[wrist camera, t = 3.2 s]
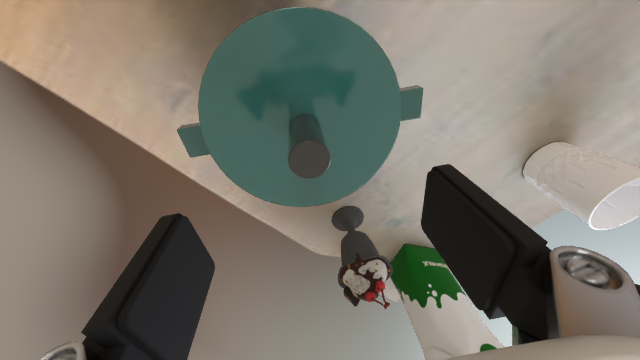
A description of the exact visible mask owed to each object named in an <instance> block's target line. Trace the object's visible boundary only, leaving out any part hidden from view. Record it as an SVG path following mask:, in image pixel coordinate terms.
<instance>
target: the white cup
mask: <svg viewBox="0 0 640 360" xmlns="http://www.w3.org/2000/svg"><path fill="white" fill-rule="evenodd" d="M523 175H524V179H525V180H527V181H528V182H530V183H531V184H533V185H534V186H536V187H537V188H538V189H540V190H541V192H542V193H544V194H545V195H546V196H548V197H549V198H550V199H552V200H553V201H555V202H556V203H557V204H559V205H560V206H562V207H563V208H565V209H566V210H567V211H569V212H570V213H572V214H573V215H575V216H576V217H578V218H579V219H580V220H582V221H583V222H584V223H586V224H587V225H589V226H590V227H592V228H593V229H596V230H607V229H612V228H615V227H618V226H621V225H624V224H626V223H628V222H630V221H632V220H634V219H636V218H637V217H639V216H640V167H638V166H635V165H632V164H629V163H627V162H624V161H621V160H618V159H615V158H612V157H609V156H606V155H602V154H599V153H597V152H594V151H591V150H586V149H582V148H579V147H577V146H574V145H571V144H568V143H565V142H553V143H551V144H548V145H546V146H543V147H542V148H540V149H539V150H538V151H536V152H535V153H534V154H532V156H531V157H530V158H529V159H528V161H527V162H526V163H525V166H524V169H523Z"/></svg>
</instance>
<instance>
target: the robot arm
mask: <svg viewBox="0 0 640 360" xmlns="http://www.w3.org/2000/svg"><path fill="white" fill-rule="evenodd" d="M421 226H422V229H423V231H424V233H425V234H426V236H427V237H428V238H429V240H430V241H431V243H432V244H433V246H434V247H435V249H436V250H437V251H438V253H439V254H440V256H441V257H442V259H443V260H444V262H445V263H446V265H447V266H448V267H449V269H450V270H451V272H452V273H453V275H454V276H455V278H456V279H457V280H458V282H459V283H460V285H461V286H462V288H463V289H464V291H465V292H466V293H467V295H468V296H469V298H470V299H471V301H472V302H473V304H474V305H475V306H476V307H477V308H478V309H479V310H483V311H484V313H485V314H486V315H487V317H488V318H489V319H495V318H500V317H505V316H506V317H507V319H508V320H509V321H510V323H511V324H512V346H510V347H504V348H499V349H493V350H487V351H482V352H477V353H472V354H467V355H462V356H457V357H452V358H447V359H442V360H640V285H637V284H634V282H633V280H632V279H631V277H630V276H629V274H628V273H627V272H626V271H625V270H624V269H623V268H622V267H621V266H619V265H618V264H617V263H615V262H613V261H612V260H610V259H609V258H607V257H605V256H602V255H601V254H599V253H596V252H594V251H591V250H588V249H584V248H580V247H574V246H561V247H557V248H554V249H553V250H550V249H549V248H548V247H546V244H547V241H546V240H544V239H543V238H542V237H541V236H539V235H538V234H537V233H536V232H534V231H533V230H532V229H531V228H529V227H528V226H527V225H526V224H524V223H523V222H522V221H521V220H519V219H518V218H517V217H516V216H514V215H513V214H512V213H511V212H509V211H508V210H507V209H506V208H504V207H503V206H502V205H501V204H499V203H498V202H497V201H496V200H494V199H493V198H492V197H491V196H489V195H488V194H487V193H486V192H484V191H483V190H482V189H481V188H479V187H478V186H477V185H476V184H474V183H473V182H472V181H471V180H469V179H468V178H467V177H465V176H464V175H463V174H462V173H460V172H459V171H458V170H457V169H455V168H454V167H453V166H452V165H450V164H446V165H441V166H435V167H433V168H432V169H431V171H429V172H428V174H427V181H426V188H425V196H424V204H423V211H422V219H421ZM214 270H215V265H214V261H213V259H212V258H211V256H210V254H209V253H208V251H207V249H206V248H205V246H204V245H203V243H202V241H201V239H200V238H199V236H198V234H197V233H196V231H195V229H194V227H193V226H192V224H191V222H190V221H189V219H188V218H187V217H185V216H183V215H181V214H173V215H167V216H163V217H161V218H160V219H159V221H158V222H157V224H156V225H155V226H154V228H153V229H152V231H151V232H150V234H149V235H148V236H147V238H146V239H145V241H144V242H143V244H142V245H141V247H140V248H139V250H138V251H137V252H136V254H135V255H134V257H133V258H132V260H131V261H130V263H129V264H128V265H127V267H126V268H125V270H124V271H123V273H122V274H121V275H120V277H119V278H118V280H117V281H116V283H115V284H114V286H113V287H112V289H111V290H110V291H109V293H108V294H107V296H106V297H105V299H104V300H103V301H102V303H101V304H100V306H99V307H98V309H97V310H96V312H95V313H94V314H93V316H92V317H91V319H90V320H89V322H88V323H87V325H86V326H85V328H84V329H83V330H82V332H81V333H83V334H84V335H85V336H87V337H86V338H85V340H84V341H83V343H80V342H77V341H74V342H67V343H64V344H62V345H59V346H57V347H55V348H54V349H52V350H50V351H49V352H47V353H45V354H44V355H43V356H42V357H40V358H39V359H37V360H187V358H188V355H189V351H190V348H191V345H192V342H193V338H194V335H195V332H196V329H197V326H198V322H199V319H200V316H201V313H202V309H203V306H204V303H205V299H206V296H207V293H208V290H209V287H210V283H211V280H212V277H213V274H214Z"/></svg>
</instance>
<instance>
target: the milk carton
mask: <svg viewBox="0 0 640 360" xmlns="http://www.w3.org/2000/svg"><path fill="white" fill-rule="evenodd" d="M391 265H392V268H393V273H392V275H391V276H390V277H391V279H392V281H393V283H394V285H395V287H396V288H397V290H398V292H399V294H400V297H401V299H402V301H403V304H404V306H405V309H406V311H407V313H408V315H409V318H410V320H411V323H412V325H413V327H414V330H415V332H416V335H417V337H418V339H419V342H420V344H421V346H422V349H423V352H424V355H425V359H426V360H442V359H447V358H452V357H457V356H462V355H467V354H472V353H477V352H482V351H487V350H493V349H499V348H504V346H503V345H502V344H501V343H500V341H499V340H498V339H497V338H496V337H495V336H494V335H493V334H492V332H491V331H490V330H489V329H488V327H487V326H486V324H485V323H484V322H483V320H482V319H481V317H480V316H479V315H478V313H477V311H476V310H475V308H474V307H473V305H472V304H471V302H470V301H469V299H468V298H467V297H466V295H465V293H464V292H463V290H462V289H461V287H460V286H459V285H458V283H457V281H456V280H455V278H454V277H453V275H452V274H451V272H450V271H449V269H448V267H447V266H446V264H445V262H444V261H443V259H442V257H441V256H440V254H439V253H438V251H437V250H436V249H432V248H426V247H420V246H415V245H409V244H404V246H403V247H402V249H401V250H400V251H399V253H398V254H397V256H396V257H395V258H394V260H393V261H392V263H391Z"/></svg>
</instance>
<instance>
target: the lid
mask: <svg viewBox="0 0 640 360" xmlns="http://www.w3.org/2000/svg"><path fill="white" fill-rule="evenodd" d="M198 110H199V121H200V126H201V131H202V135H203V137H204V140H205V143H206V146H207V148H208V150H209V152H210V154H211V155H212V157H213V159H214V160H215V162H216V163H217V165H218V166H219V168H220V169H221V170H222V171H223V172H224V173H225V174H226V176H227V177H228V178H230V179H231V180H232V181H233V182H234V183H235V184H236V185H238V186H239V187H240V188H242V189H243V190H245V191H246V192H248V193H250V194H252V195H253V196H255V197H258V198H260V199H262V200H265V201H268V202H271V203H274V204H279V205H284V206H293V207H309V206H317V205H322V204H326V203H330V202H333V201H336V200H339V199H341V198H343V197H345V196H347V195H349V194H351V193H353V192H354V191H356V190H357V189H359V188H360V187H361V186H363V185H364V184H365V183H367V182H368V181H369V180H370V179H371V178H372V177H373V176H374V175H375V174H376V173H377V171H378V170H379V169H380V168H381V167H382V165H383V164H384V162H385V161H386V159H387V158H388V156H389V154H390V152H391V150H392V148H393V146H394V143H395V140H396V138H397V134H398V130H399V126H400V119H401V96H400V89H399V84H398V81H397V77H396V74H395V72H394V69H393V67H392V65H391V63H390V60H389V59H388V57H387V56H386V54H385V52H384V51H383V49H382V48H381V47H380V46H379V44H378V43H377V42H376V41H375V40H374V39H373V37H372V36H370V35H369V34H368V33H367V32H366V31H365V30H363V29H362V28H361V27H360V26H358V25H357V24H355V23H353V22H352V21H350V20H349V19H347V18H345V17H342V16H340V15H338V14H335V13H333V12H330V11H326V10H322V9H318V8H309V7H289V8H281V9H277V10H273V11H269V12H265V13H263V14H261V15H258V16H256V17H254V18H251V19H250V20H248V21H247V22H245V23H244V24H242V25H240V26H239V27H237V28H236V29H235V30H234V31H233V32H232V33H231V34H230V35H228V36H227V37H226V38H225V39H224V41H223V42H222V43H221V44H220V46H219V47H218V48H217V49H216V51H215V52H214V54H213V56H212V57H211V59H210V61H209V63H208V65H207V67H206V70H205V72H204V75H203V78H202V82H201V87H200V91H199V103H198Z"/></svg>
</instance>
